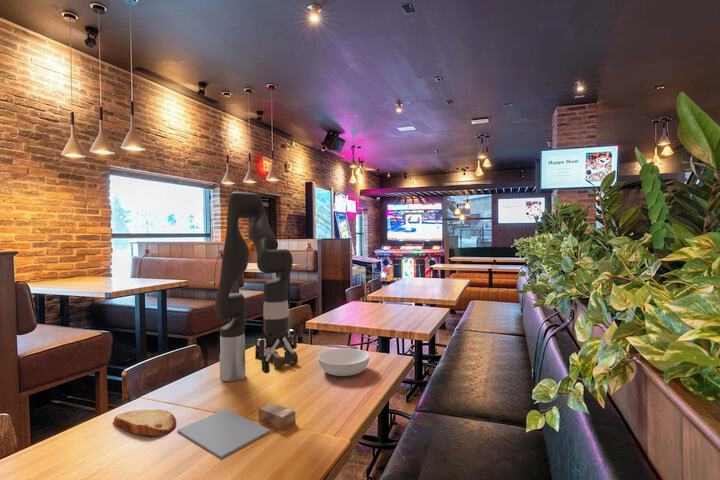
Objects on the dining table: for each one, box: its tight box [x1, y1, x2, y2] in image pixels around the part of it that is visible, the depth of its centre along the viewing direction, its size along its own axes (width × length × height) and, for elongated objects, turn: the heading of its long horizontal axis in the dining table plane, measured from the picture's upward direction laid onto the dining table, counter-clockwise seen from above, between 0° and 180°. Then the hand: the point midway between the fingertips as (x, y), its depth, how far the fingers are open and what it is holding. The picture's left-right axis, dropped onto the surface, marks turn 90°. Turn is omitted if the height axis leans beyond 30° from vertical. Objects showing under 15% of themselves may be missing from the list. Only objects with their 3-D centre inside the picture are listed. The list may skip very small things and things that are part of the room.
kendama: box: [266, 348, 299, 371], centre depth 167 cm, size 6×10×20 cm
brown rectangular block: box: [258, 401, 297, 432], centre depth 118 cm, size 11×5×4 cm, turn 53°
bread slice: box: [112, 409, 177, 437], centre depth 117 cm, size 18×18×4 cm
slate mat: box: [176, 408, 271, 459], centre depth 112 cm, size 22×16×1 cm
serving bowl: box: [318, 347, 370, 377], centre depth 157 cm, size 21×21×7 cm
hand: (277, 368), depth 118 cm, fingers open, 8 cm apart
